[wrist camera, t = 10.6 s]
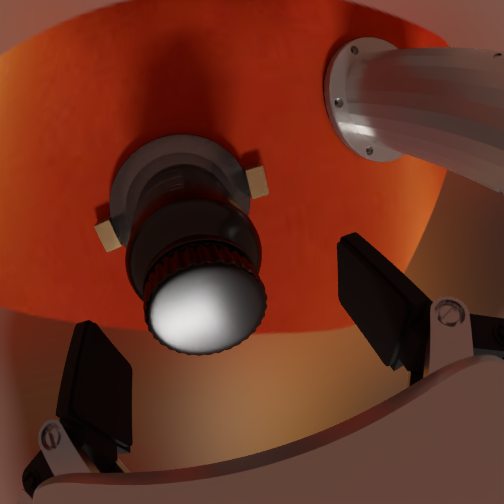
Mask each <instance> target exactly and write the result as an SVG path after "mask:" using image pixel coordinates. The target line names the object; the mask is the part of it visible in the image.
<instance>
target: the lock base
mask: <svg viewBox="0 0 504 504" xmlns="http://www.w3.org/2000/svg"><path fill="white" fill-rule="evenodd" d="M177 164H192V165H197V166H200V167H202V168H205V169H206V170H208V171H210V172H211V173H212V174H214V175H215V176H216V177H217V178H218V179H219V180H220V181H221V183H222V184H223V185H224V186H225V188H226V189H227V190H228V191H229V193H230V194H231V195H232V196H233V198H234V199H235V200H236V202H237V203H238V204H239V205H240V207H241V208H242V209H243V211H244V212H245V213H246V214H247V216H248V214H249V208H250V197H251V198H252V199H255V198H258V197H261V196H264V195H268V194H269V191H268V187H267V182H266V178H265V173H264V168H263V165H261V164H259V163H256V164H252V165H249V166H245V167H242V168H241V166H240V165H239V163H238V162H237V160H236V159H235V158H234V157H233V156H232V155H231V154H230V153H229V152H228V151H227V150H225V149H224V148H223V147H221V146H220V145H218V144H217V143H215V142H213V141H211V140H209V139H206V138H204V137H200V136H197V135H190V134H173V135H167V136H163V137H160V138H157V139H155V140H152V141H150V142H148V143H146V144H145V145H143V146H142V147H140V148H139V149H138V150H136V151H135V152H134V153H133V154H132V155H131V156H130V157H129V158H128V159H127V160H126V162H125V163H124V164H123V166H122V167H121V168H120V170H119V172H118V174H117V176H116V178H115V180H114V183H113V186H112V189H111V194H110V216H107V217H105V218H103V219H100V220H98V221H97V222H96V224H95V226H94V228H95V230H96V232H97V234H98V236H99V238H100V240H101V242H102V244H103V246H104V248H105V250H106V252H109V251H111V250H114V249H116V248H119V247H121V246H122V243H123V245H124V246H125V247H127V242H128V237H129V233H130V229H131V225H132V221H133V217H134V213H135V209H136V205H137V202H138V198H139V196H140V193H141V191H142V189H143V187H144V186H145V184H146V183H147V181H148V180H149V179H150V178H151V177H152V176H153V175H155V174H156V173H157V172H159V171H160V170H162V169H164V168H166V167H169V166H172V165H177Z"/></svg>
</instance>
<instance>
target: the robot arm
mask: <svg viewBox="0 0 504 504" xmlns="http://www.w3.org/2000/svg"><path fill="white" fill-rule="evenodd" d="M324 96H325V103H326V109H327V112H328V115H329V119H330V121H331V123H332V125H333V127H334V129H335V132H336V133H337V134H338V136H339V137H340V139H341V140H342V142H343V143H344V144H345V145H346V146H347V147H348V148H349V149H350V150H352V151H353V152H355V153H356V154H357V155H359V156H361V157H364V158H366V159H369V160H373V161H376V162H388V161H393V160H395V159H397V158H399V157H401V156H403V155H404V154H407V155H410V156H413V157H416V158H419V159H422V160H425V161H427V162H430V163H433V164H435V165H438V166H441V167H443V168H446V169H448V170H451V171H453V172H456V173H458V174H461V175H463V176H465V177H468V178H470V179H472V180H474V181H476V182H479V183H480V184H483V185H485V186H487V187H489V188H491V189H493V190H495V191H497V192H499V193H501V194H503V195H504V52H499V51H491V50H483V49H470V48H451V47H429V48H407V49H398V48H397V47H396V46H394V45H393V44H391V43H389V42H387V41H385V40H383V39H379V38H375V37H363V38H358V39H354V40H352V41H349V42H347V43H345V44H344V45H343V46H341V47H340V48H339V49H338V50H337V51H336V53H335V54H334V55H333V57H332V58H331V60H330V63H329V65H328V67H327V71H326V76H325V82H324ZM337 259H338V297H339V301H340V303H341V305H342V306H343V307H344V309H345V310H346V311H347V313H348V314H349V316H350V317H351V318H352V320H353V321H354V322H355V324H356V325H357V326H358V328H359V329H360V331H361V332H362V333H363V335H364V336H365V338H366V339H367V340H368V342H369V343H370V345H371V346H372V347H373V349H374V350H375V352H376V353H377V354H378V356H379V357H380V359H381V360H382V362H383V363H384V364H385V365H386V366H391V368H392V369H393V371H395V370H397V369H398V368H400V367H402V366H403V365H404V366H405V368H406V369H407V371H408V378H407V384H406V389H405V390H403V391H401V392H400V393H398V394H396V395H394V396H393V397H391V398H389V399H387V400H386V401H384V402H382V403H380V404H378V405H376V406H374V407H372V408H370V409H369V410H367V411H365V412H363V413H361V414H359V415H357V416H354V417H353V418H350V419H349V420H346V421H344V422H342V423H340V424H338V425H335V426H333V427H330V428H328V429H326V430H324V431H321V432H318V433H316V434H314V435H311V436H308V437H305V438H303V439H300V440H297V441H294V442H292V443H289V444H286V445H283V446H280V447H276V448H273V449H270V450H267V451H263V452H260V453H256V454H253V455H249V456H245V457H241V458H237V459H232V460H228V461H223V462H218V463H214V464H208V465H202V466H196V467H190V468H182V469H174V470H164V471H153V472H134V473H130V472H129V471H128V470H127V469H126V467H125V466H124V465H123V464H122V463H121V462H120V460H119V459H118V458H117V453H119V454H123V453H130V446H131V445H132V442H133V441H132V368H131V365H130V364H129V363H128V361H127V360H126V359H125V358H124V357H123V356H122V354H121V353H120V352H119V351H118V350H117V349H116V347H115V346H114V345H113V344H112V343H111V341H110V340H109V339H108V338H107V337H106V335H105V334H104V333H103V332H102V330H101V329H100V328H99V326H98V325H97V324H96V323H93V322H92V321H90V320H87V321H84V322H81V323H78V324H76V326H75V329H74V333H73V336H72V340H71V343H70V347H69V351H68V355H67V359H66V363H65V367H64V372H63V376H62V381H61V386H60V392H59V396H58V402H57V408H56V416H58V417H59V418H60V421H57V420H53V419H52V420H48V421H47V422H46V423H44V425H43V426H42V427H41V429H40V432H39V445H40V448H41V450H40V452H39V453H38V454H37V455H36V457H35V458H34V459H33V460H32V461H31V462H30V464H29V465H28V466H27V468H25V470H24V472H23V476H22V481H23V486H24V489H25V490H24V489H22V492H21V494H20V497H19V500H18V503H17V504H504V319H503V318H496V317H489V316H481V315H474V314H469V311H468V309H467V307H466V306H465V304H464V303H463V302H461V301H460V300H459V299H457V298H454V297H449V296H444V297H440V298H438V299H436V300H435V301H434V302H432V301H431V300H430V299H429V298H428V297H427V296H426V295H425V294H424V293H423V292H422V291H421V290H420V289H419V288H418V287H417V286H416V285H415V284H414V283H413V282H412V281H411V280H410V279H408V278H407V277H406V276H405V275H404V274H403V273H402V272H401V271H400V270H399V269H398V268H397V267H396V266H394V265H393V264H392V263H391V262H390V261H389V260H388V259H387V258H386V257H384V256H383V255H382V254H381V253H380V252H379V251H378V250H376V249H375V248H374V247H373V246H372V245H371V244H369V243H368V242H367V241H366V240H365V239H364V238H362V237H361V236H360V235H359V234H358V233H356V232H354V233H351V234H348V235H345V236H343V237H341V239H340V242H338V243H337Z"/></svg>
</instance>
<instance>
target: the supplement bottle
mask: <svg viewBox="0 0 504 504" xmlns="http://www.w3.org/2000/svg"><path fill="white" fill-rule="evenodd" d="M261 261H262V247H261V242H260V238H259V235H258V233H257V230H256V228H255V227H254V225H253V223H252V222H251V220H250V219H249V217H248V216H247V214H246V213H245V212H244V211H243V209H242V208H241V207H240V205H239V204H238V203H237V202H236V200H235V199H234V198H233V196H232V195H231V194H230V193H229V191H228V190H227V189H226V188H225V186H224V185H223V184H222V183H221V181H220V180H219V179H218V178H217V177H216V176H215V175H214V174H212V173H211V172H210V171H208V170H206V169H205V168H202V167H200V166H197V165H192V164H177V165H172V166H169V167H166V168H164V169H162V170H160V171H159V172H157V173H156V174H155V175H153V176H152V177H151V178H150V179H149V180H148V181H147V183H146V184H145V186H144V187H143V189H142V191H141V193H140V196H139V198H138V202H137V205H136V209H135V213H134V217H133V221H132V225H131V229H130V233H129V237H128V242H127V247H126V256H125V265H126V272H127V276H128V279H129V282H130V284H131V286H132V288H133V290H134V291H135V293H136V294H137V295H138V297H139V298H140V299H141V300H142V301H143V302H144V304H143V309H144V318H145V322H146V324H147V325H148V330H149V331H150V332H151V333H152V334H153V337H154V338H155V339H157V340H159V342H160V344H162V345H164V346H167V347H168V349H170V350H175V351H176V352H178V353H185V354H187V355H198V356H200V355H211V354H213V353H220V352H222V351H224V350H228V349H231V348H232V347H234V346H236V345H239V344H240V343H241V342H242V341H244V340H246V339H248V337H249V336H250V335H251V334H252V333H254V332H255V331H256V328H257V327H258V326H259V325H260V324H261V320H262V319H263V318H264V316H265V310H266V308H267V304H266V301H267V295H266V293H265V286H264V284H263V282H262V281H261V279H260V277H259V275H258V274H259V271H260V267H261Z"/></svg>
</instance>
